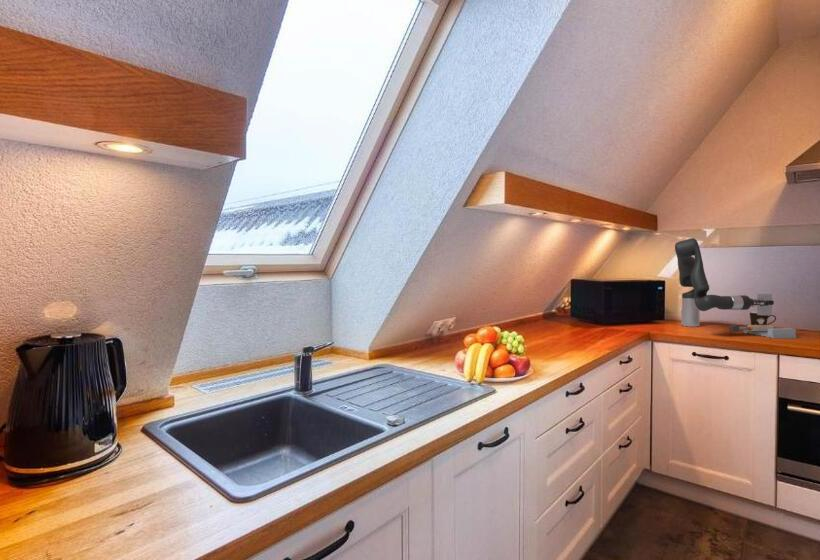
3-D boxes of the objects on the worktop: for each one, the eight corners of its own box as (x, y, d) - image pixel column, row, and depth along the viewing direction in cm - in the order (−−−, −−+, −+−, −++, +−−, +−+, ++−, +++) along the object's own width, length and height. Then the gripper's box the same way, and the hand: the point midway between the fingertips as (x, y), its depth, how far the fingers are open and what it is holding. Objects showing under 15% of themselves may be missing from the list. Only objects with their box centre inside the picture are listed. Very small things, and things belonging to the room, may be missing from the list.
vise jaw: (729, 330, 248) (729, 325, 248) (769, 330, 249) (769, 324, 249) (734, 331, 245) (734, 326, 245) (774, 331, 245) (774, 325, 245)
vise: (743, 332, 251) (743, 324, 251) (764, 332, 252) (764, 324, 252) (773, 338, 231) (773, 329, 231) (796, 338, 232) (796, 329, 232)
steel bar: (757, 314, 240) (757, 293, 240) (766, 314, 240) (766, 293, 240) (762, 315, 237) (762, 294, 236) (771, 315, 237) (772, 294, 236)
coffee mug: (747, 330, 261) (747, 312, 261) (751, 328, 267) (751, 311, 267) (773, 332, 253) (773, 314, 252) (776, 330, 258) (776, 312, 258)
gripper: (747, 296, 231) (781, 296, 231) (727, 294, 245) (759, 294, 245) (747, 311, 231) (781, 310, 231) (727, 308, 245) (759, 308, 245)
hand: (769, 302), depth 238 cm, fingers closed on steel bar, 3 cm apart
